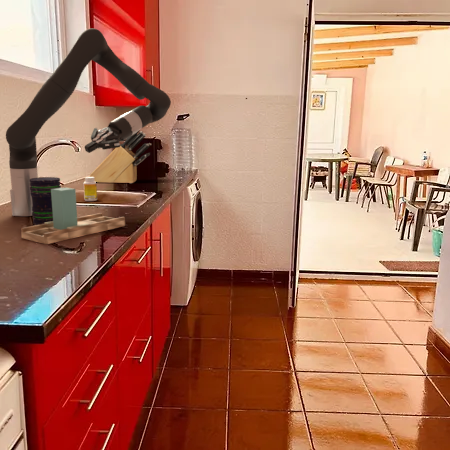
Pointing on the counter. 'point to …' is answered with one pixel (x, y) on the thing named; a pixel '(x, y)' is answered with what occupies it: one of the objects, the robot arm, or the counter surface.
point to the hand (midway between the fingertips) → (86, 149)
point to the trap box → (71, 229)
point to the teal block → (64, 207)
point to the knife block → (122, 162)
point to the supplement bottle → (90, 189)
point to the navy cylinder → (42, 198)
